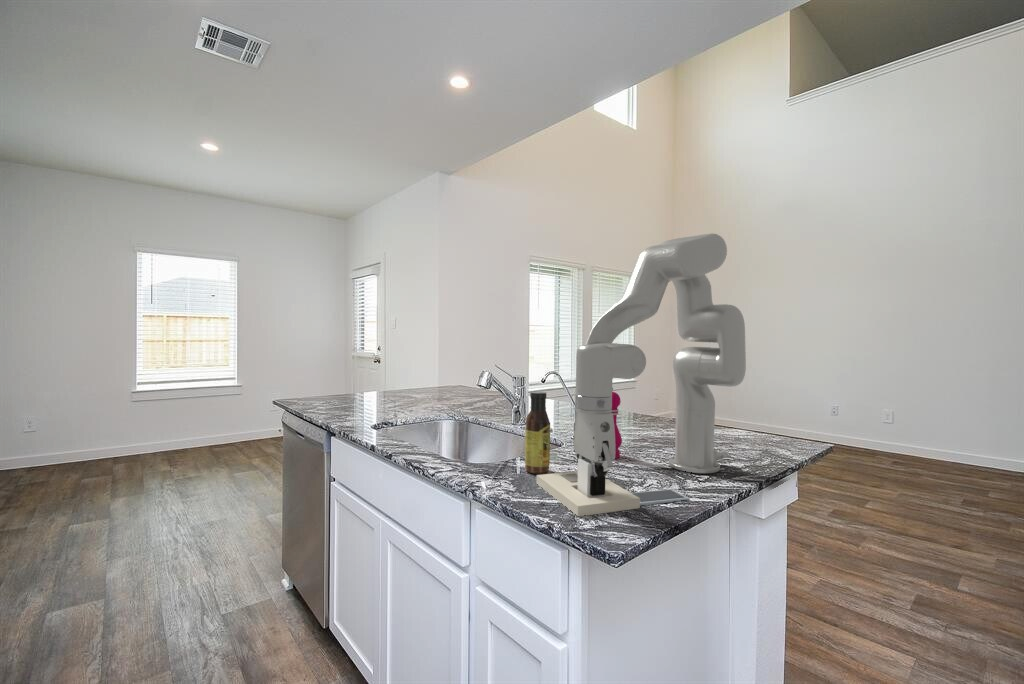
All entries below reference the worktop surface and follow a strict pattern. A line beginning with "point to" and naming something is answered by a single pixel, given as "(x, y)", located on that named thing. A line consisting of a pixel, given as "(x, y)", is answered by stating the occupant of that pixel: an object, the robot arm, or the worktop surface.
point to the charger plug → (585, 477)
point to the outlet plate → (578, 503)
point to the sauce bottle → (537, 436)
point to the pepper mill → (618, 438)
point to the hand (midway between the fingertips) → (591, 490)
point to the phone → (659, 496)
